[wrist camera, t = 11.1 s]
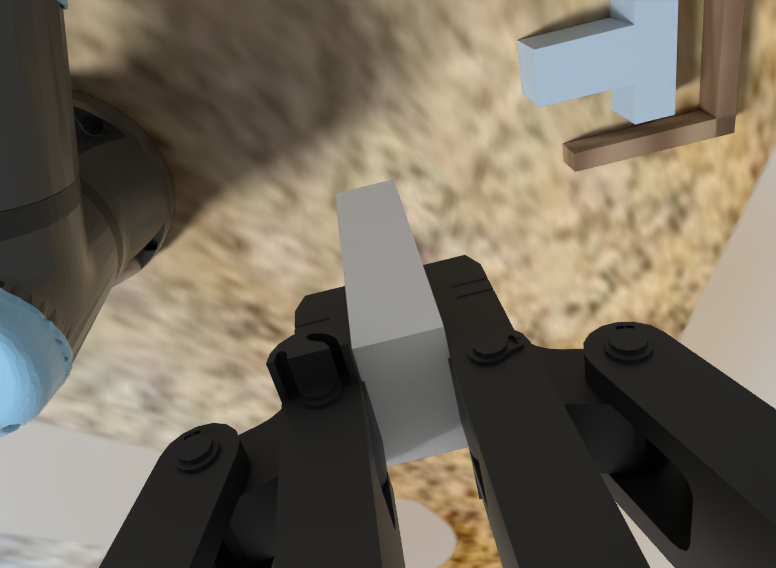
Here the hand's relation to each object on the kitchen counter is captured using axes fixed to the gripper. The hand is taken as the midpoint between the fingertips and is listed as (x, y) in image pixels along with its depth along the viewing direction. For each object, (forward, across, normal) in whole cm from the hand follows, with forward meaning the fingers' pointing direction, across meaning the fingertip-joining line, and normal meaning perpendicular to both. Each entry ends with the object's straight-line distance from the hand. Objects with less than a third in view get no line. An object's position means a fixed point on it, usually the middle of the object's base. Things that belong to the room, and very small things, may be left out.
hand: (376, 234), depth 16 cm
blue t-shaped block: (+33, +18, -5) cm, 38 cm away
